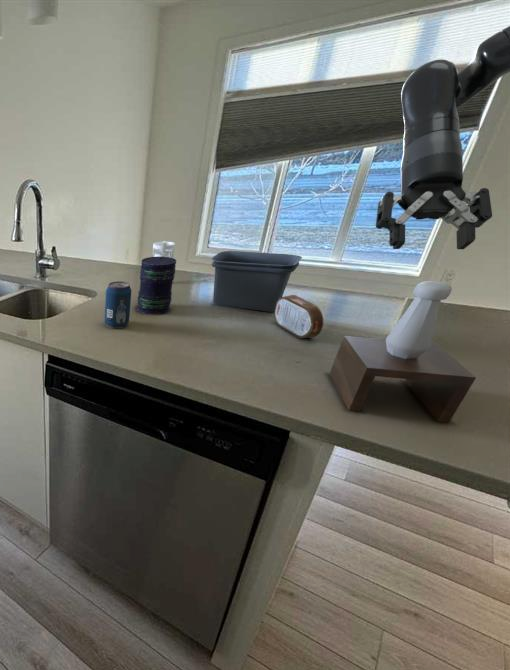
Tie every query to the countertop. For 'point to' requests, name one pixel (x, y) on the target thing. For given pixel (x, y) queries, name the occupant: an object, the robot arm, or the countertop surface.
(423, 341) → the salt shaker
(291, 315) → the tin
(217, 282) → the storage bin
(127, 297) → the soda can
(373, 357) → the shelf
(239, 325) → the countertop surface
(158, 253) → the strainer
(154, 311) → the storage jar
